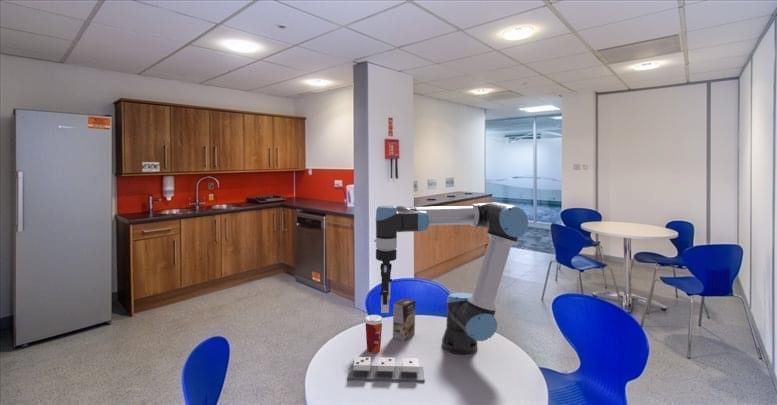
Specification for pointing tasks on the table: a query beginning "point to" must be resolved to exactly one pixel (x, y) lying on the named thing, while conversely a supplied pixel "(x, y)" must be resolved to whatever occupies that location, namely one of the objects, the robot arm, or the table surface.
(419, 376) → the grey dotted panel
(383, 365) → the tile
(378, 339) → the paper cup
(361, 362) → the tile
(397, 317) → the coffee box
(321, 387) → the table surface
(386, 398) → the table surface
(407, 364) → the tile
